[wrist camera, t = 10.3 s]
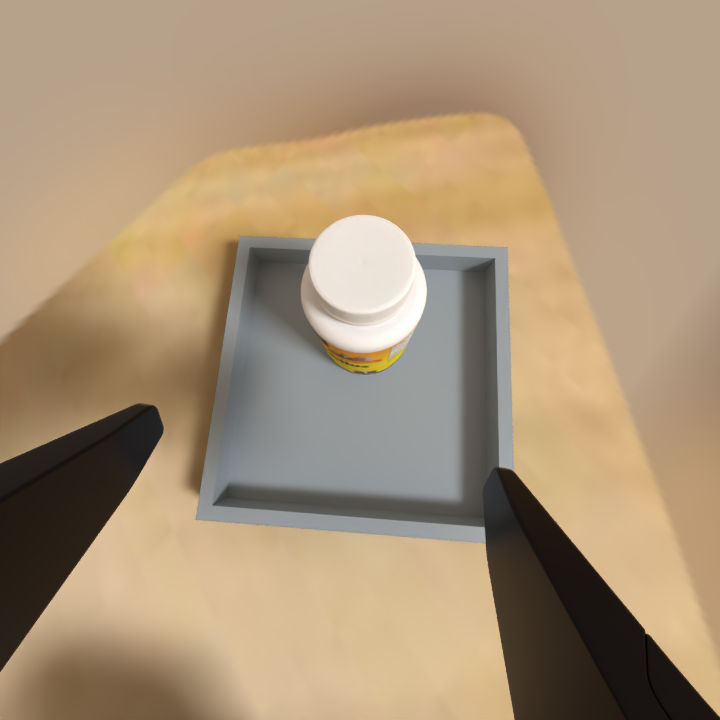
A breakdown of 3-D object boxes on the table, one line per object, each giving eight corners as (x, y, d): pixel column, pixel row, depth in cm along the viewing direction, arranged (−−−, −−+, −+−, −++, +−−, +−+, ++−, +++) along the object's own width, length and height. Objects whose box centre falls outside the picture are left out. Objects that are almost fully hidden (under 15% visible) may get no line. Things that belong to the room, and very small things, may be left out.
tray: (497, 530, 19) (515, 545, 17) (216, 507, 20) (195, 519, 18) (492, 266, 23) (507, 247, 20) (252, 255, 23) (239, 235, 21)
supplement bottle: (307, 340, 21) (253, 268, 11) (361, 282, 22) (355, 166, 12) (369, 395, 21) (368, 368, 11) (423, 333, 21) (471, 253, 11)
